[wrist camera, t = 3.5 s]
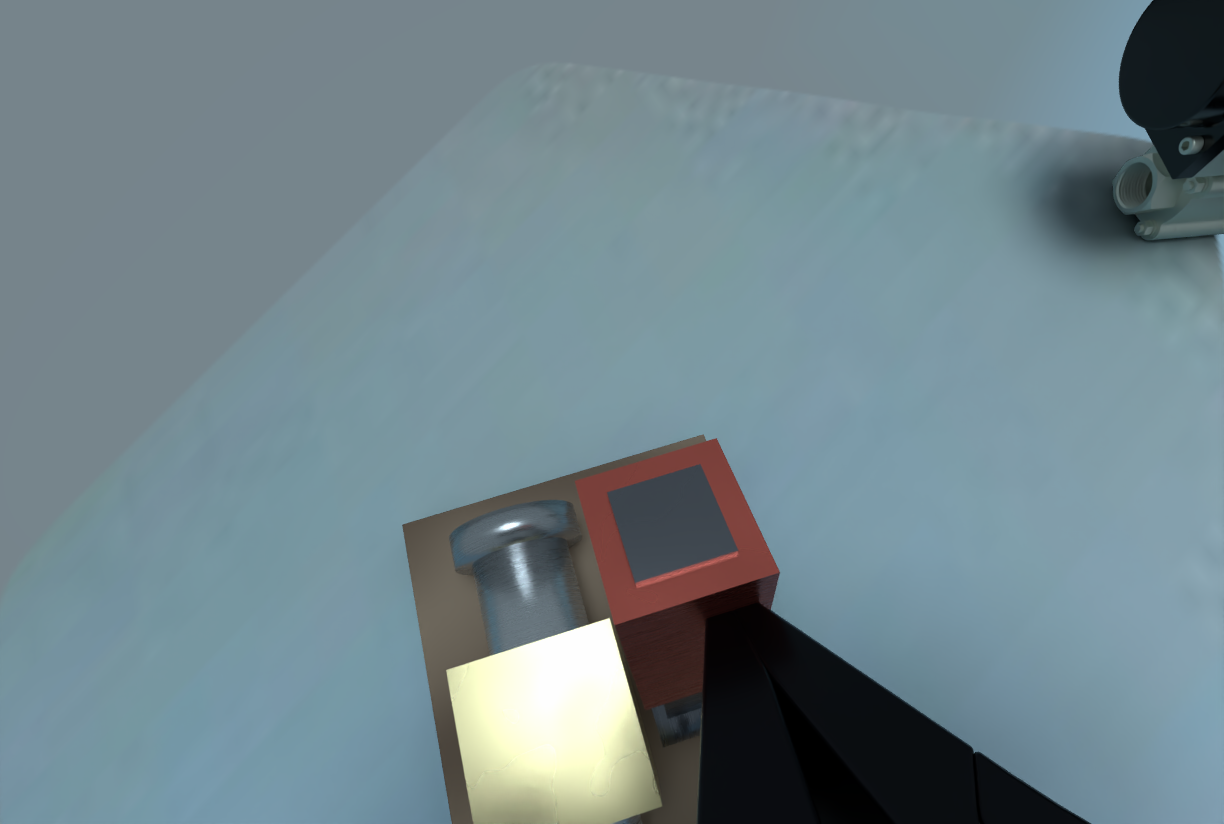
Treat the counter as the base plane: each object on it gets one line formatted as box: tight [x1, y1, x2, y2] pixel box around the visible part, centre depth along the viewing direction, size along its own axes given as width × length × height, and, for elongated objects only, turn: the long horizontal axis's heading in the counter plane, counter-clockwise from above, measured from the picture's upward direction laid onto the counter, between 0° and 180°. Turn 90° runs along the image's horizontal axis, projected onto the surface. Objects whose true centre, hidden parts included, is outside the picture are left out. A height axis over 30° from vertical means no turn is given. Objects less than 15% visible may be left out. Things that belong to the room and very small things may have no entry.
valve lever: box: [575, 438, 780, 748], centre depth 13 cm, size 2×2×11 cm
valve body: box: [446, 500, 662, 824], centre depth 17 cm, size 13×4×4 cm, turn 17°
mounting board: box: [402, 434, 706, 824], centre depth 19 cm, size 16×11×1 cm
